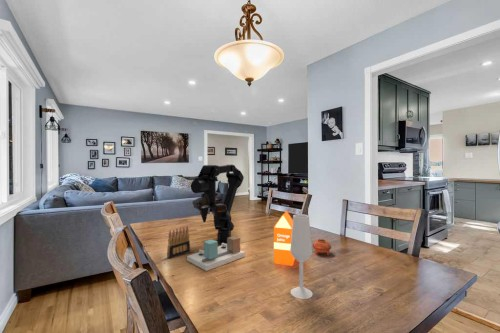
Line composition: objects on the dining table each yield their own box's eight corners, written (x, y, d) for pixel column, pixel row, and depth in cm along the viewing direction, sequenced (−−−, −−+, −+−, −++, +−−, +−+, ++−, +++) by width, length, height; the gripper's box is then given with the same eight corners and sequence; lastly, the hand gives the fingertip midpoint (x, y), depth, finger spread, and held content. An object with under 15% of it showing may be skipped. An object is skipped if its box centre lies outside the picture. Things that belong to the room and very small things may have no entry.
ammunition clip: (169, 258, 102) (169, 230, 102) (167, 257, 103) (167, 230, 103) (190, 251, 110) (190, 225, 110) (187, 250, 111) (187, 225, 111)
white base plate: (224, 248, 113) (224, 232, 113) (244, 256, 103) (244, 238, 103) (187, 260, 99) (187, 241, 99) (206, 271, 89) (206, 249, 89)
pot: (334, 252, 107) (333, 238, 106) (327, 261, 102) (326, 247, 101) (318, 247, 113) (317, 234, 111) (310, 255, 107) (309, 242, 106)
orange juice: (296, 257, 102) (295, 211, 102) (292, 265, 94) (292, 215, 94) (278, 255, 104) (277, 210, 104) (273, 263, 96) (273, 214, 96)
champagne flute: (288, 287, 77) (287, 213, 77) (308, 286, 77) (308, 213, 77) (293, 299, 70) (293, 218, 70) (315, 298, 70) (315, 217, 70)
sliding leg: (203, 251, 103) (203, 236, 103) (217, 257, 95) (217, 241, 95) (195, 254, 100) (195, 238, 100) (209, 260, 93) (209, 243, 93)
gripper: (184, 191, 114) (184, 223, 114) (206, 194, 101) (206, 230, 101) (204, 189, 122) (204, 219, 122) (227, 192, 109) (227, 226, 109)
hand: (209, 223), depth 113 cm, fingers open, 9 cm apart
